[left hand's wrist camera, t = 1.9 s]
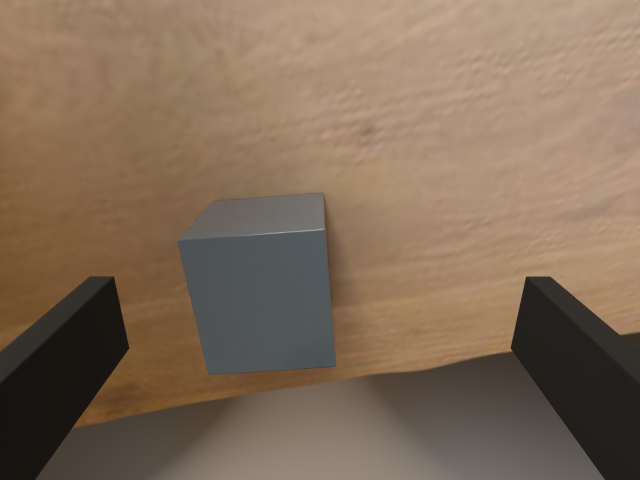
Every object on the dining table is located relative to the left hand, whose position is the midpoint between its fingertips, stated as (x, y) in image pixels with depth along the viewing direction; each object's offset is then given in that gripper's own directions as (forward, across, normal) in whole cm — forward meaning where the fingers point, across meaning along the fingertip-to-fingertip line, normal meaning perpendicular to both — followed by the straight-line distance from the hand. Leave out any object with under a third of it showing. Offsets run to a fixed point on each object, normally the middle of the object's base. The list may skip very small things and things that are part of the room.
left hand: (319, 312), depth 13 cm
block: (+16, +3, +5) cm, 18 cm away
